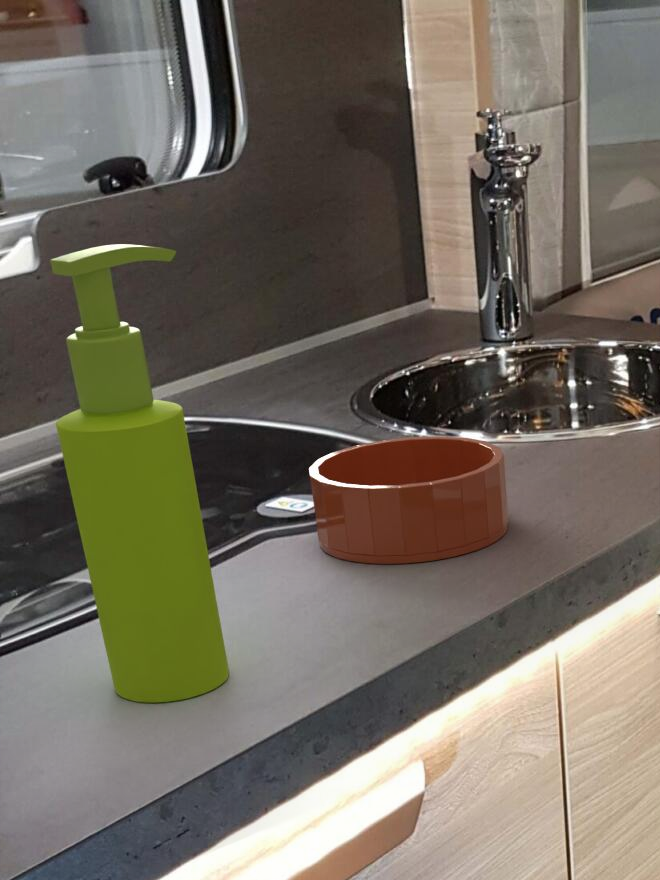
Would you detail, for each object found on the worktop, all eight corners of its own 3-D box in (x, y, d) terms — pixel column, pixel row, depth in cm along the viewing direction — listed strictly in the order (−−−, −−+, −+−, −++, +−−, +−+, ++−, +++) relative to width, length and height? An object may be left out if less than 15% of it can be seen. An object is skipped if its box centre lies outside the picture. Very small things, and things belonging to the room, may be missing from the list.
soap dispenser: (268, 671, 80) (198, 241, 68) (151, 712, 76) (58, 266, 65) (207, 645, 83) (131, 234, 72) (94, 684, 80) (-4, 257, 69)
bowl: (296, 565, 94) (285, 490, 92) (346, 508, 104) (337, 439, 101) (489, 562, 92) (483, 485, 89) (521, 504, 102) (517, 433, 99)
